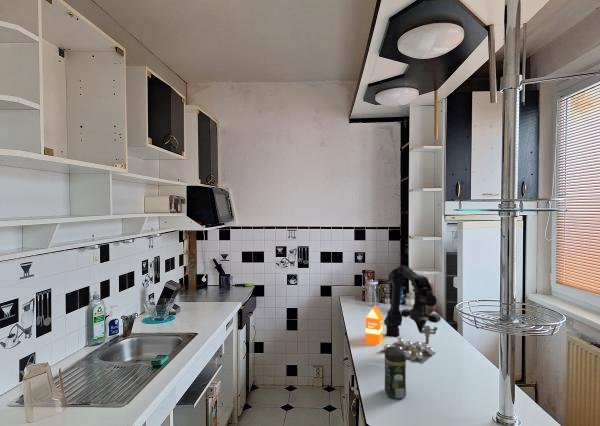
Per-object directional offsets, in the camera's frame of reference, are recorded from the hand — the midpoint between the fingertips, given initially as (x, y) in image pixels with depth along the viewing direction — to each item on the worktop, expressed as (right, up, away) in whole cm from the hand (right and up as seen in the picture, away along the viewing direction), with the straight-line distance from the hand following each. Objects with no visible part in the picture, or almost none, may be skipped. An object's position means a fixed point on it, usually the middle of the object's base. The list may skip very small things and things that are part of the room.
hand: (420, 332), depth 193 cm
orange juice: (-19, -12, +21) cm, 31 cm away
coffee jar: (-22, -14, -37) cm, 45 cm away
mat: (-5, -12, +5) cm, 14 cm away
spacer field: (-5, -12, +5) cm, 14 cm away
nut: (-3, -12, +3) cm, 12 cm away
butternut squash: (+26, -11, +72) cm, 77 cm away
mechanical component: (+9, -12, +17) cm, 23 cm away
